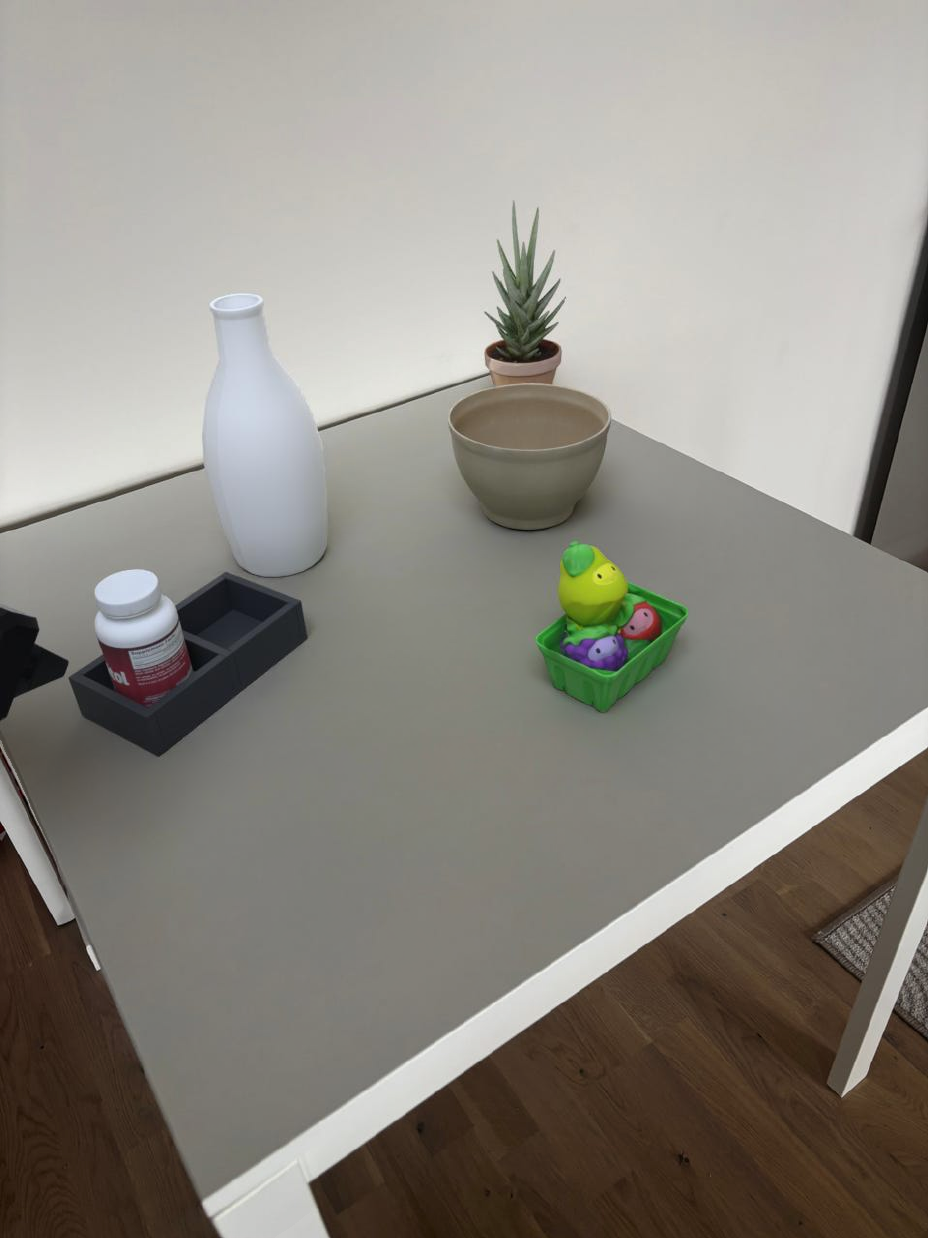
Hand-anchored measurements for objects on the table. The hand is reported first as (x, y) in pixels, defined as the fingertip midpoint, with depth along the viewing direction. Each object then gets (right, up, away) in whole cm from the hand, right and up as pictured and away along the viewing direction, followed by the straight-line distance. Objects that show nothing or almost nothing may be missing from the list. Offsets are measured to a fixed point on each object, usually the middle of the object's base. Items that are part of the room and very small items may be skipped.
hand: (16, 647), depth 64 cm
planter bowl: (+36, +13, +39) cm, 55 cm away
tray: (+7, -3, +18) cm, 20 cm away
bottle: (+11, +8, +34) cm, 36 cm away
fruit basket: (+41, -3, +17) cm, 45 cm away
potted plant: (+37, +29, +60) cm, 76 cm away
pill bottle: (+5, -5, +15) cm, 17 cm away
